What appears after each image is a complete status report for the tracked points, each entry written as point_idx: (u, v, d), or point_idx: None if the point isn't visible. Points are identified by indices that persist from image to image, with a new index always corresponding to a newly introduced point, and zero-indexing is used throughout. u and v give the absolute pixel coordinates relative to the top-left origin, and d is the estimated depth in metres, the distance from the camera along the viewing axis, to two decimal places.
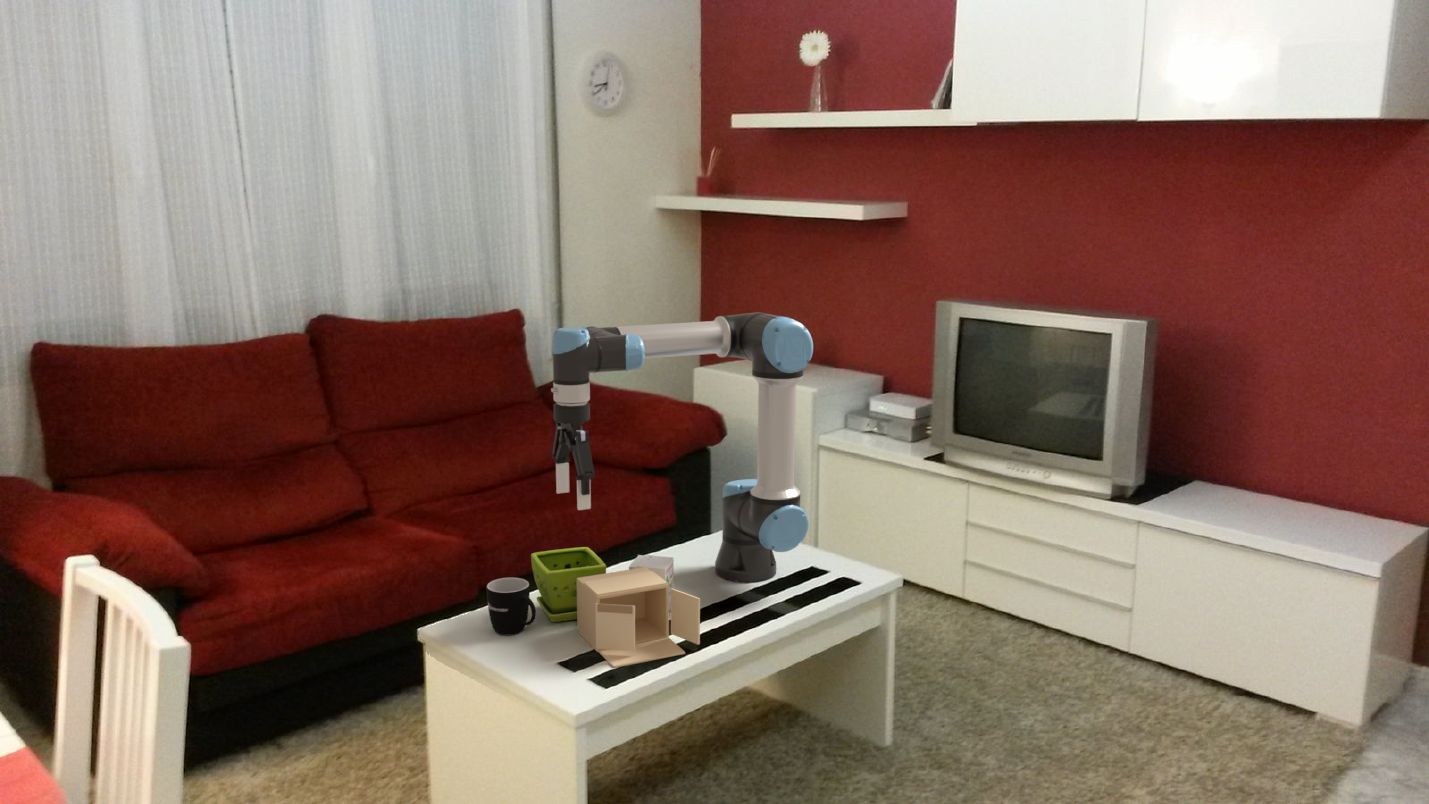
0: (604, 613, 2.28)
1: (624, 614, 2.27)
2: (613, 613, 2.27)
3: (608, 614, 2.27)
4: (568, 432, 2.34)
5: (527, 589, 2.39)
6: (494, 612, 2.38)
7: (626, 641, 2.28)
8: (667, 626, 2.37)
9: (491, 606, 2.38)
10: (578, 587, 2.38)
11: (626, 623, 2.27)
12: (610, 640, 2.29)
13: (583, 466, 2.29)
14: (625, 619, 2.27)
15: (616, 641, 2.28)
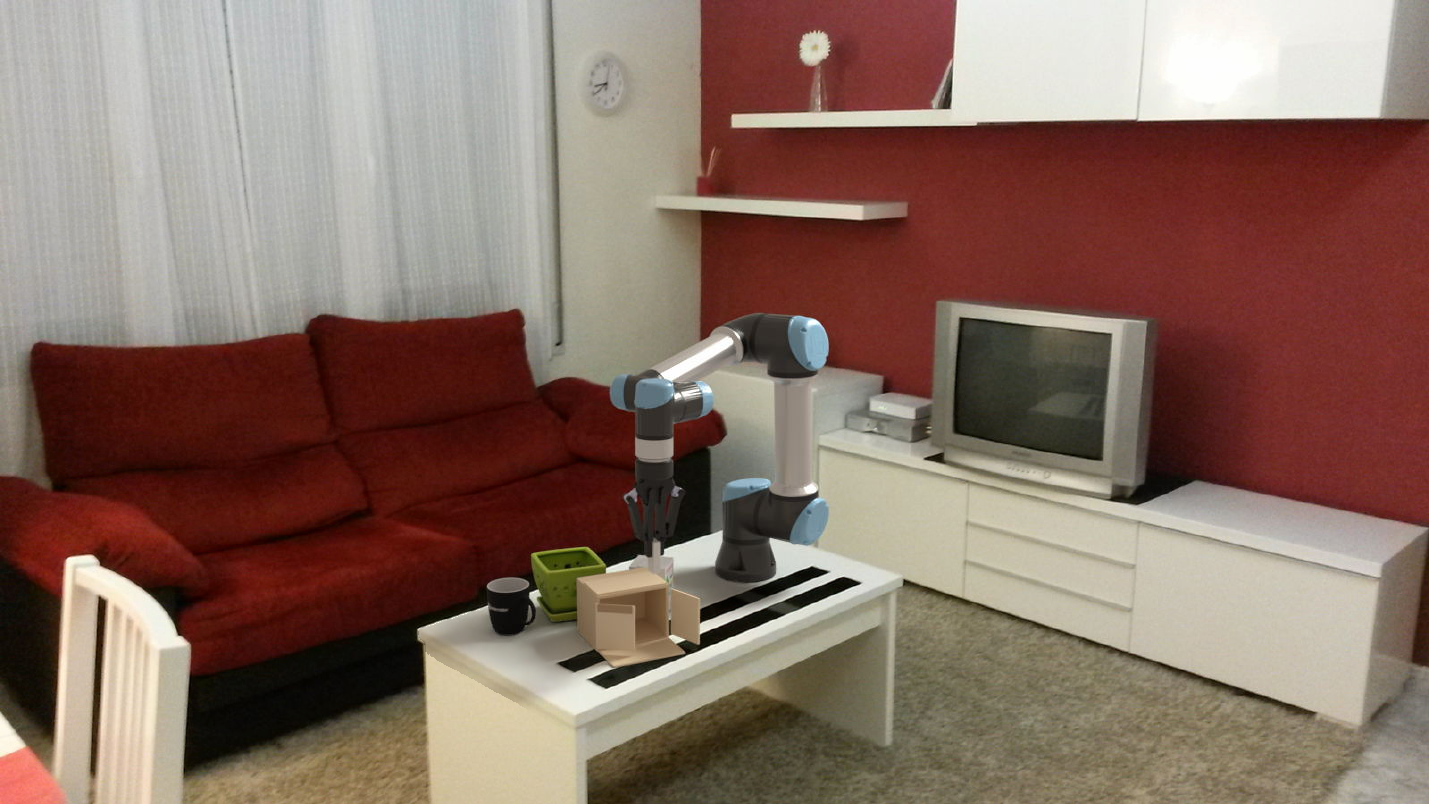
0: (604, 613, 2.28)
1: (624, 614, 2.27)
2: (613, 613, 2.27)
3: (608, 614, 2.27)
4: None
5: (527, 589, 2.39)
6: (494, 612, 2.38)
7: (626, 641, 2.28)
8: (667, 626, 2.37)
9: (491, 606, 2.38)
10: (578, 587, 2.38)
11: (626, 623, 2.27)
12: (610, 640, 2.29)
13: (633, 528, 2.24)
14: (625, 619, 2.27)
15: (616, 641, 2.28)
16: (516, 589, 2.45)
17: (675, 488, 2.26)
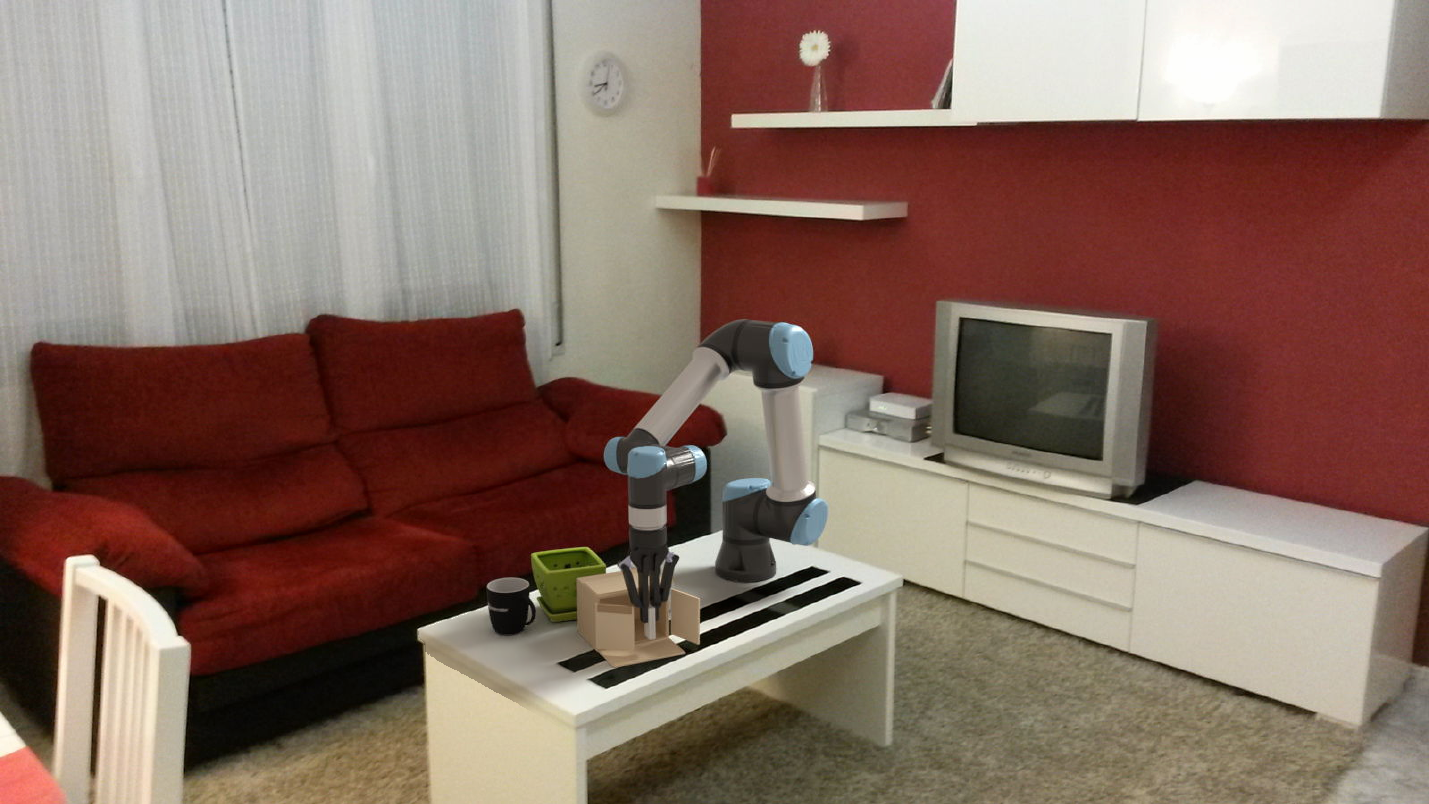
0: (604, 613, 2.27)
1: (624, 614, 2.27)
2: (613, 613, 2.27)
3: (608, 614, 2.27)
4: None
5: (527, 589, 2.39)
6: (494, 612, 2.38)
7: (626, 641, 2.28)
8: (667, 626, 2.37)
9: (491, 606, 2.38)
10: (578, 587, 2.38)
11: (626, 623, 2.27)
12: (610, 640, 2.28)
13: None
14: (625, 619, 2.27)
15: (616, 641, 2.28)
16: (516, 589, 2.45)
17: (669, 554, 2.27)
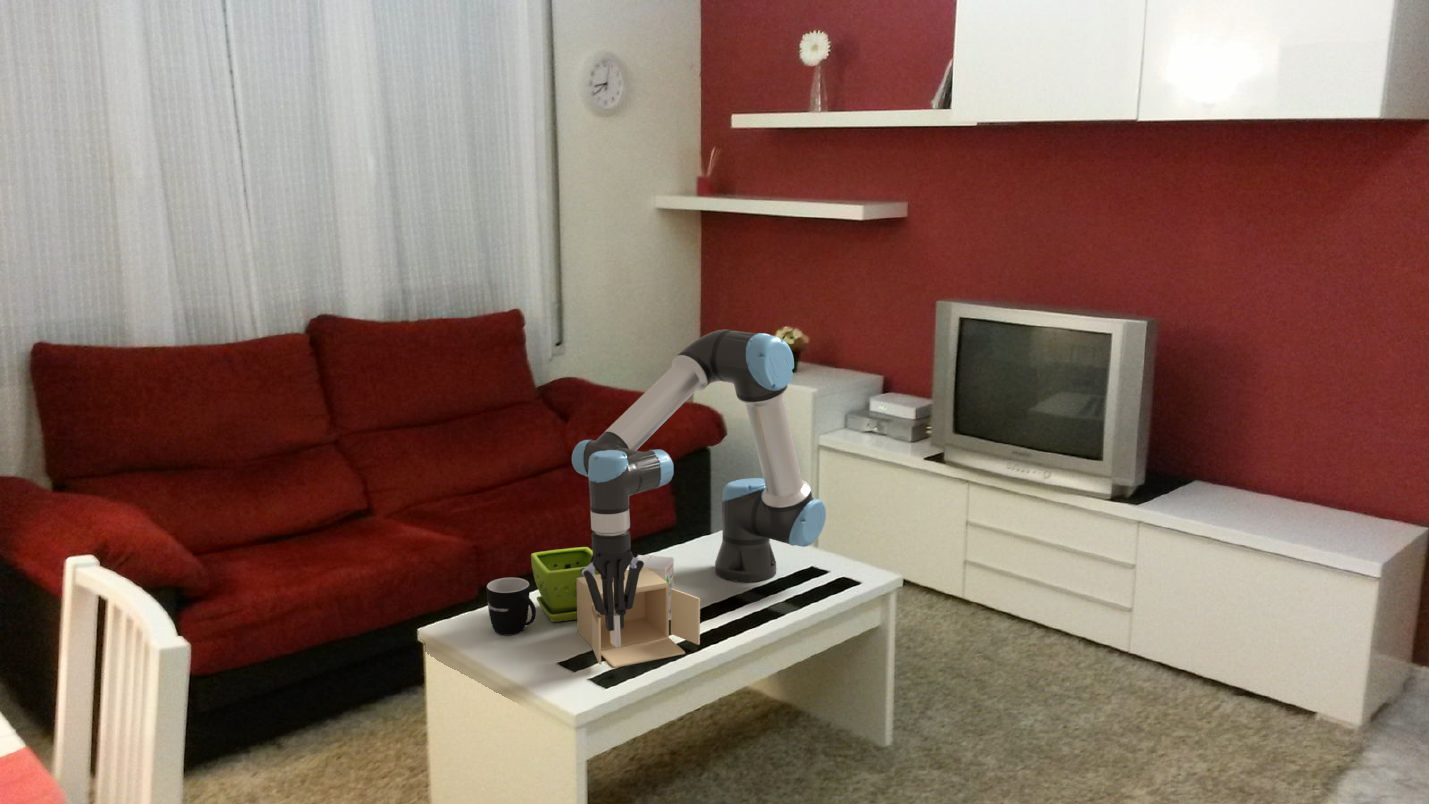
0: (593, 615, 2.26)
1: (596, 623, 2.22)
2: (594, 618, 2.25)
3: (594, 618, 2.26)
4: None
5: (527, 589, 2.39)
6: (494, 612, 2.38)
7: (597, 651, 2.23)
8: (667, 626, 2.37)
9: (491, 606, 2.38)
10: (578, 587, 2.38)
11: (597, 633, 2.22)
12: (594, 644, 2.26)
13: (593, 602, 2.22)
14: (597, 628, 2.22)
15: (595, 647, 2.25)
16: (516, 589, 2.45)
17: (633, 560, 2.23)
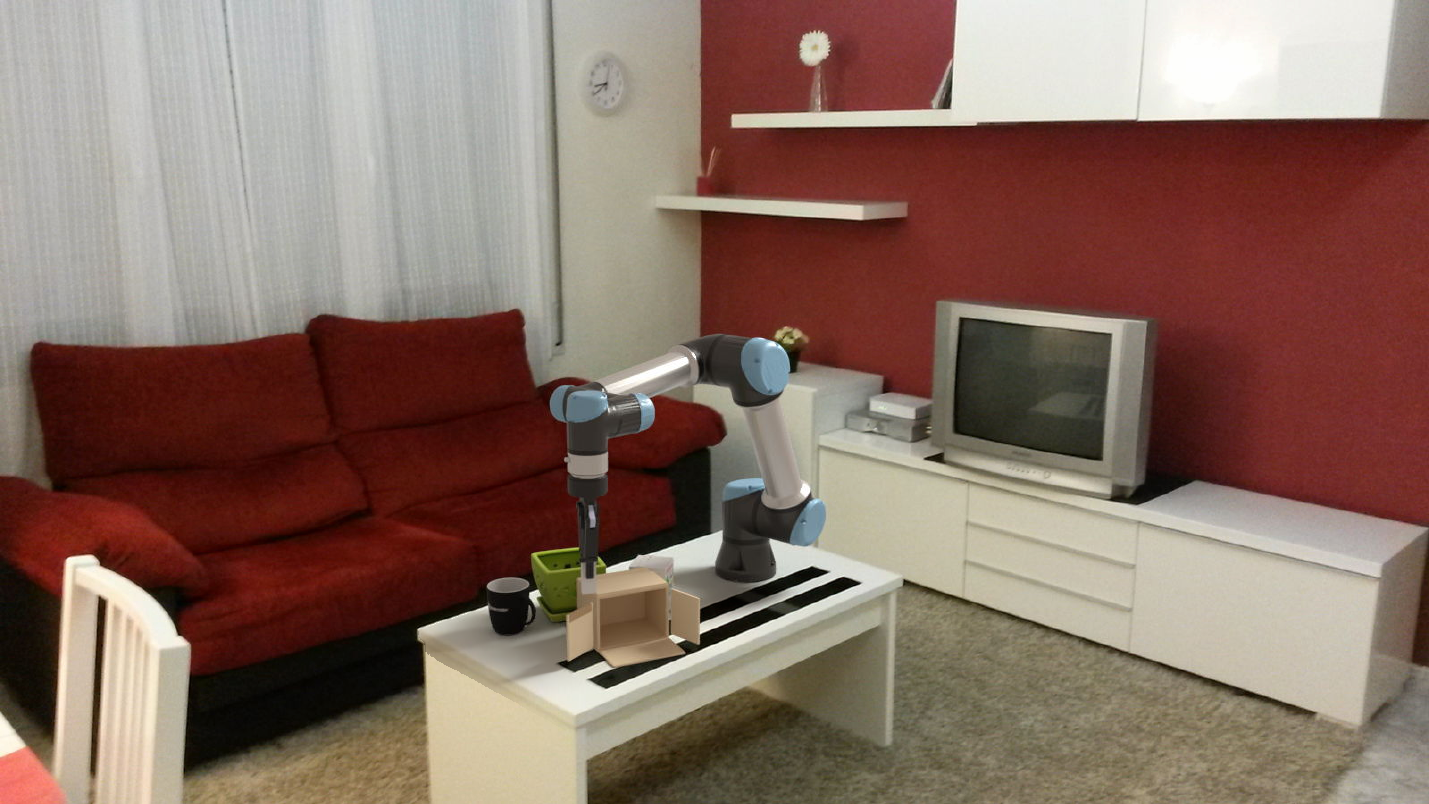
0: None
1: None
2: None
3: None
4: (582, 509, 2.12)
5: (527, 589, 2.39)
6: (494, 612, 2.38)
7: None
8: (667, 626, 2.37)
9: (491, 606, 2.38)
10: (578, 587, 2.38)
11: None
12: None
13: (586, 552, 2.11)
14: None
15: None
16: (516, 589, 2.45)
17: None
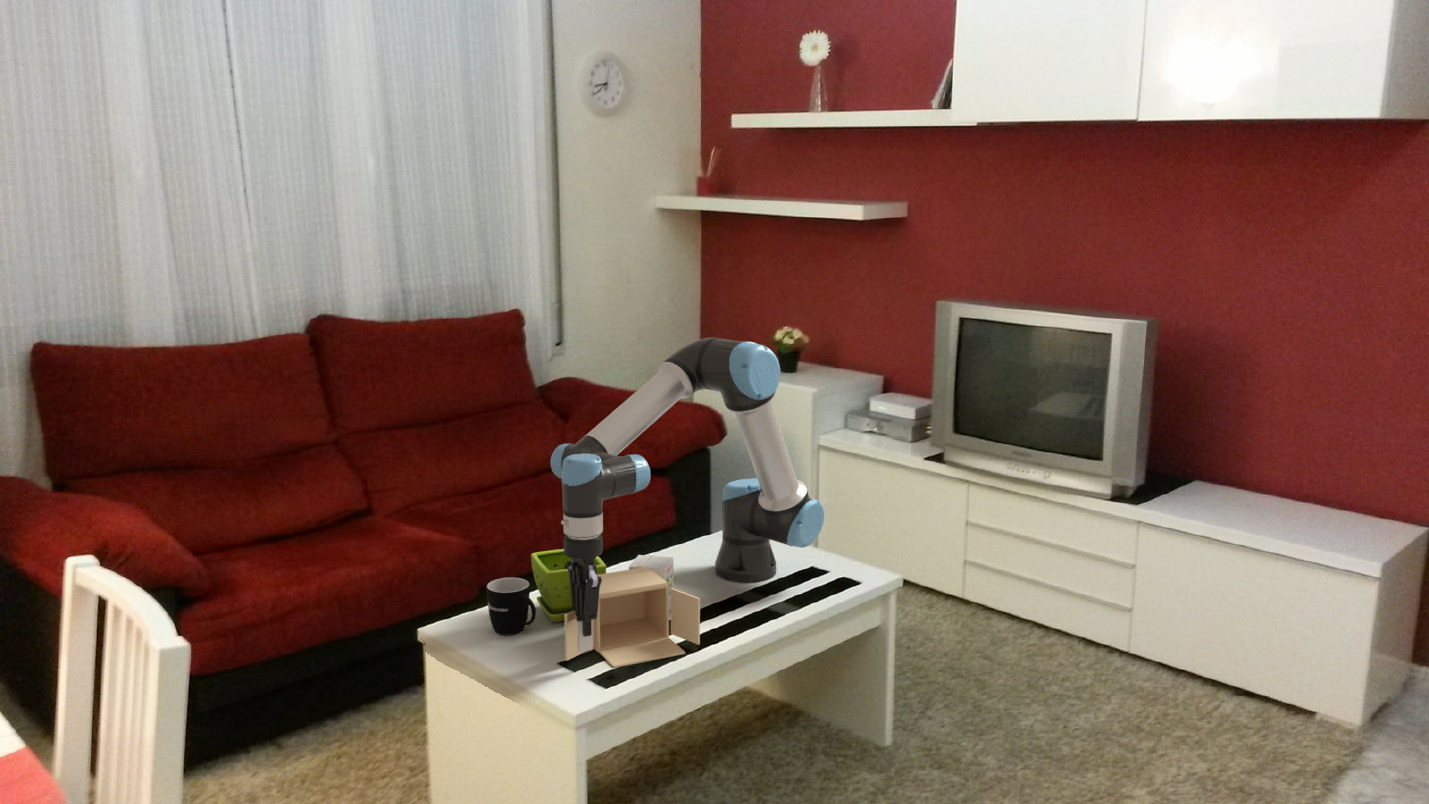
0: None
1: None
2: None
3: None
4: (580, 569, 2.17)
5: (527, 589, 2.39)
6: (494, 612, 2.38)
7: None
8: (667, 626, 2.37)
9: (491, 606, 2.38)
10: None
11: None
12: None
13: (587, 611, 2.17)
14: None
15: None
16: (516, 589, 2.45)
17: None
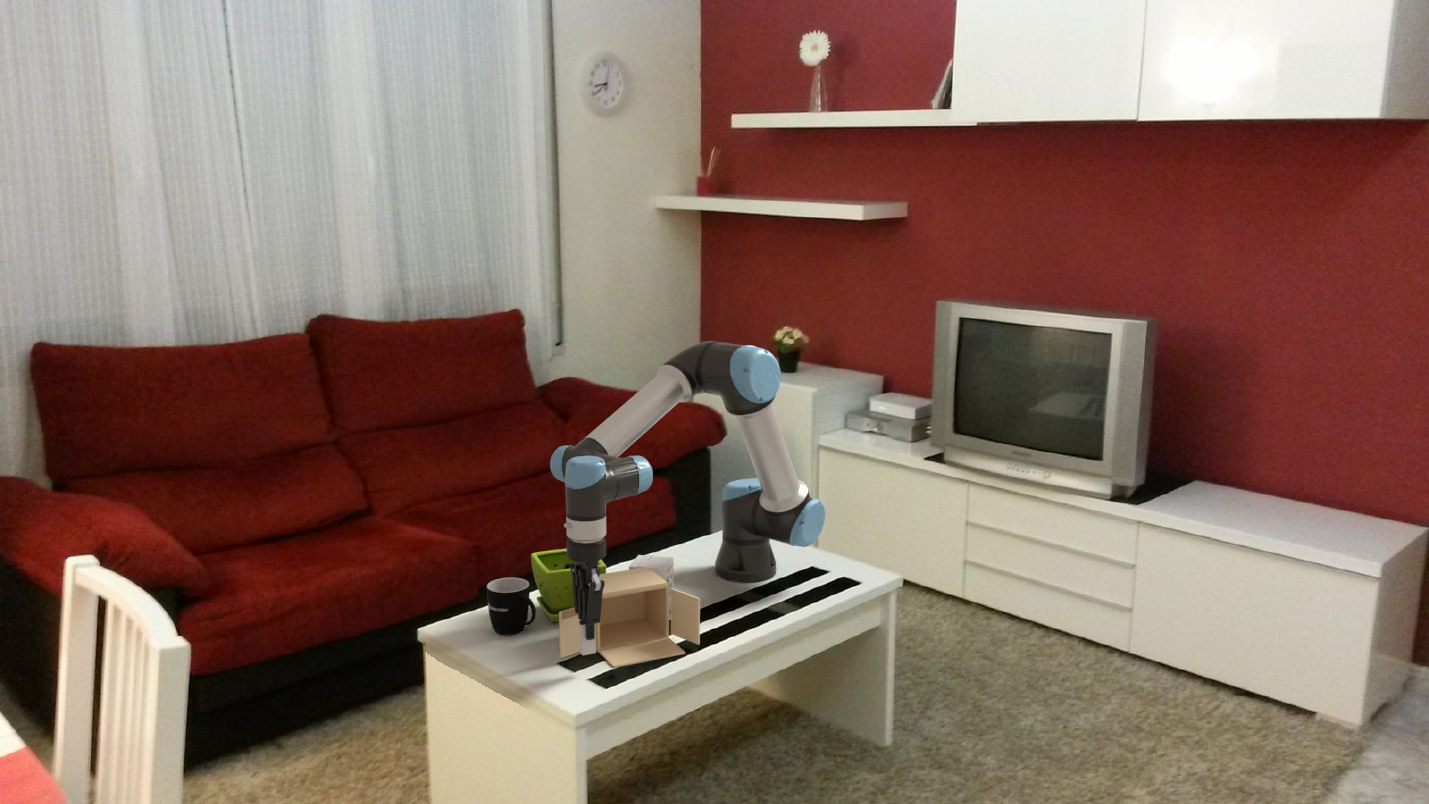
0: None
1: None
2: None
3: None
4: (583, 572, 2.15)
5: (527, 589, 2.39)
6: (494, 612, 2.38)
7: None
8: (667, 626, 2.37)
9: (491, 606, 2.38)
10: None
11: None
12: None
13: (589, 615, 2.15)
14: None
15: None
16: (516, 589, 2.45)
17: None
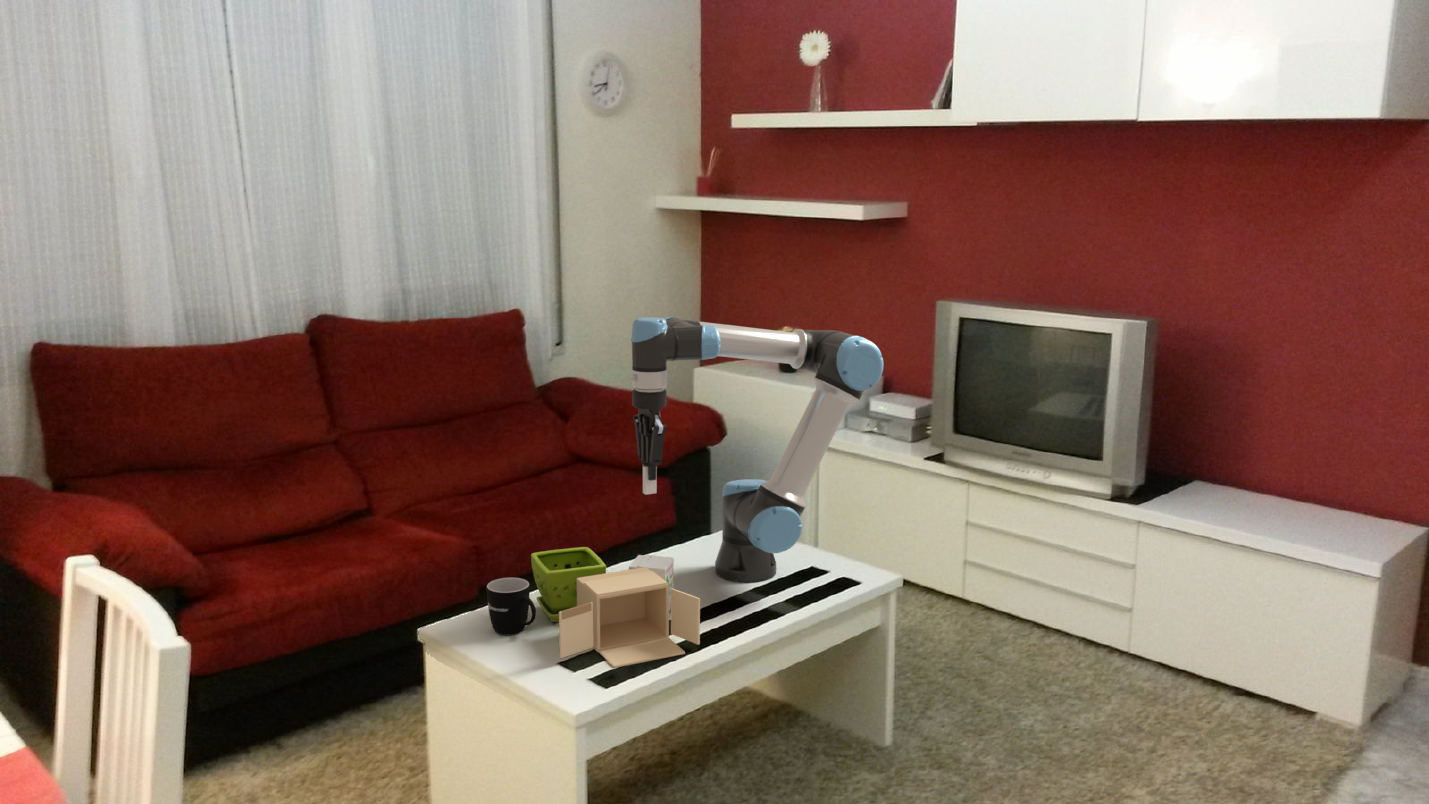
0: None
1: None
2: None
3: None
4: (647, 419, 2.46)
5: (527, 589, 2.39)
6: (494, 612, 2.38)
7: None
8: (667, 626, 2.37)
9: (491, 606, 2.38)
10: (578, 587, 2.38)
11: None
12: None
13: (653, 456, 2.45)
14: None
15: None
16: (516, 589, 2.45)
17: None
